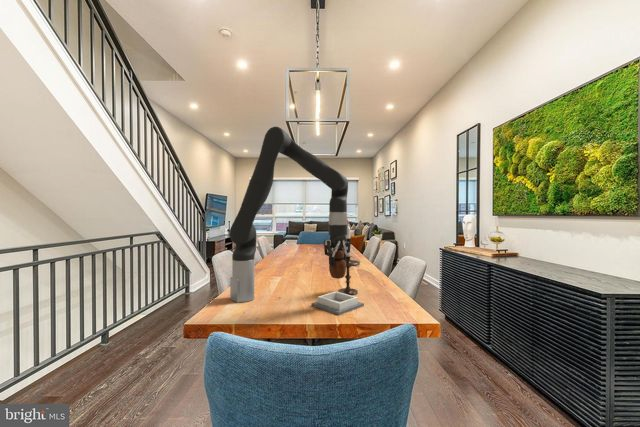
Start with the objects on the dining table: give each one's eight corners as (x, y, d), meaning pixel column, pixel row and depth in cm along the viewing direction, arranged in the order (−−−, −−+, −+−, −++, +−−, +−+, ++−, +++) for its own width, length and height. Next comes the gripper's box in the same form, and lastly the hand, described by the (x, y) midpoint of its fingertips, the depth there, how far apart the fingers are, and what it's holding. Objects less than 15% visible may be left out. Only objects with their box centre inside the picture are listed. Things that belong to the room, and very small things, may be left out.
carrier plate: (339, 315, 106) (339, 305, 106) (311, 305, 117) (311, 296, 117) (364, 305, 117) (364, 297, 117) (336, 297, 127) (336, 289, 127)
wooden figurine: (347, 276, 118) (347, 240, 118) (344, 280, 113) (344, 241, 113) (331, 275, 120) (331, 239, 120) (327, 278, 115) (327, 241, 115)
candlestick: (333, 294, 132) (333, 217, 132) (340, 288, 142) (340, 217, 142) (356, 297, 128) (356, 218, 127) (362, 290, 138) (362, 217, 138)
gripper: (342, 222, 124) (342, 261, 124) (318, 223, 114) (318, 266, 114) (356, 223, 119) (356, 264, 119) (332, 224, 109) (332, 268, 109)
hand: (337, 264), depth 116 cm, fingers closed on wooden figurine, 6 cm apart
